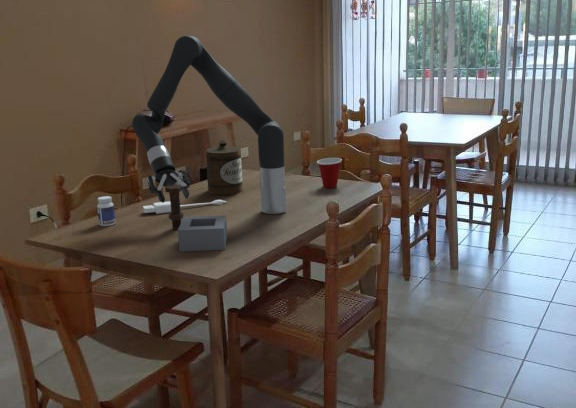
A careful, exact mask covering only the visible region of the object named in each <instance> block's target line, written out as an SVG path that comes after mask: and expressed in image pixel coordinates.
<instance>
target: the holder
mask: <svg viewBox="0 0 576 408" xmlns="http://www.w3.org/2000/svg"><path fill="white" fill-rule="evenodd" d="M227 226H228V225H227V215H226V214H224V215H222V214H221V215H202V216H201V215H198V216H197V215H196V216H183V218H182V219H181V224H180V226H179V229H177V233H178V234H177V235H178V249H179V252H197V251H198V252H200V251H201V252H202V251H203V252H204V251H223V250H226V245H227V239H228V227H227Z"/></svg>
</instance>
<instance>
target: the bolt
mask: <svg viewBox="0 0 576 408" xmlns="http://www.w3.org/2000/svg"><path fill="white" fill-rule="evenodd" d="M164 188H165V193H168V195H169V200H170V205H171V212H169V214H168V219H169V220H170V221H171V225H172V226H171V227H172V229H174V230H178V229H179V226H180V224H181V222H182V219H183V217H184V213H183V212H182V211H181V207H180V205H181V204H180V203H181V200H180V192H182V190H183V189H182V186H180V185H170V186H167V187H164Z"/></svg>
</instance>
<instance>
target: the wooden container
mask: <svg viewBox="0 0 576 408" xmlns="http://www.w3.org/2000/svg"><path fill="white" fill-rule="evenodd" d="M227 144H228V142H227V140H224V139H221V140H219V142H218V145H219V146H215V147H209V148H206V151H205V153H206V154H205V155H206V176H207V192H208V193H209V194H212V195H216V196H217V195H218V196H228V195H234V194H238V193H241V192H242V191H243V170H242V169H243V168H242V150H241V148H240V147H237V146H228V145H227Z"/></svg>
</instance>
